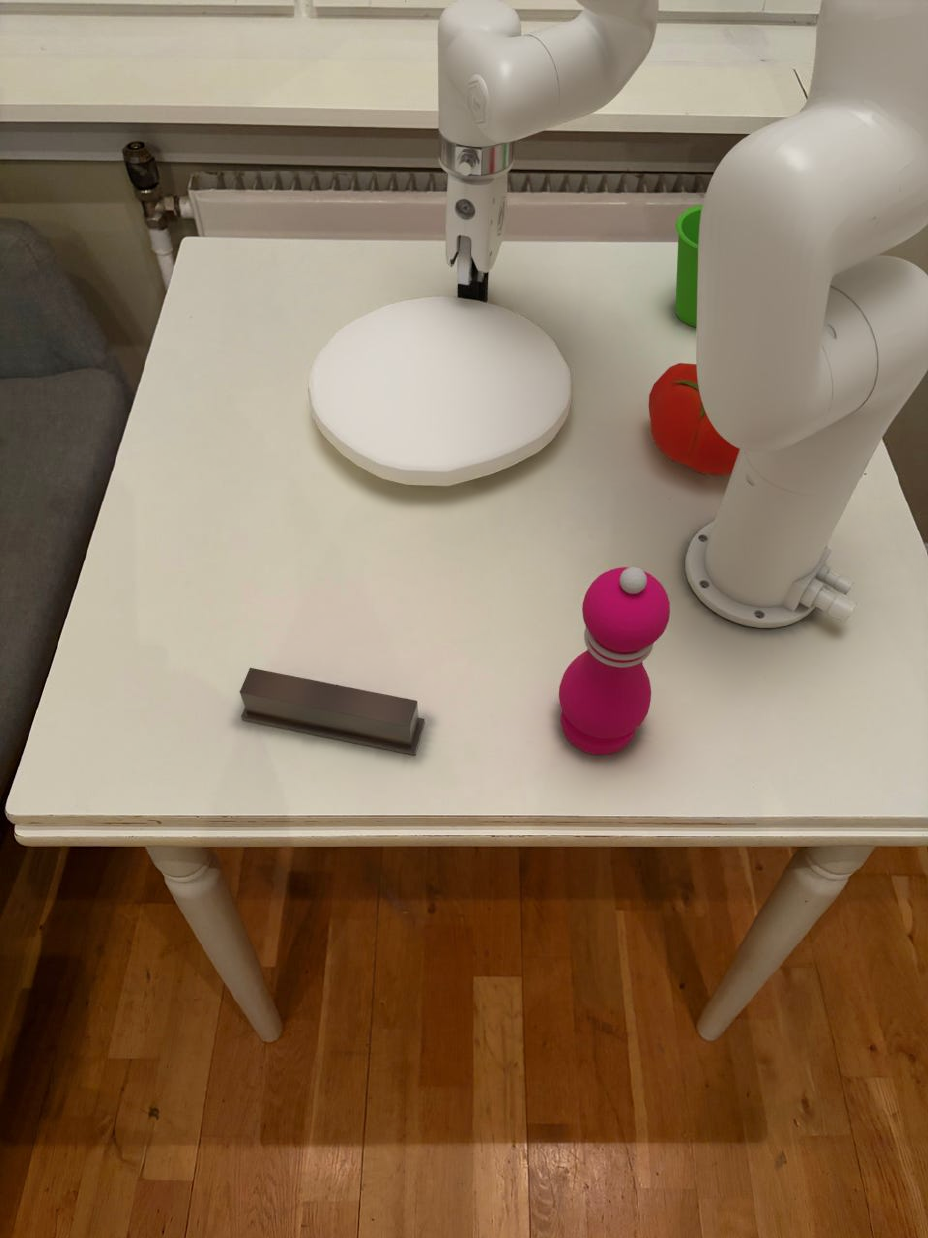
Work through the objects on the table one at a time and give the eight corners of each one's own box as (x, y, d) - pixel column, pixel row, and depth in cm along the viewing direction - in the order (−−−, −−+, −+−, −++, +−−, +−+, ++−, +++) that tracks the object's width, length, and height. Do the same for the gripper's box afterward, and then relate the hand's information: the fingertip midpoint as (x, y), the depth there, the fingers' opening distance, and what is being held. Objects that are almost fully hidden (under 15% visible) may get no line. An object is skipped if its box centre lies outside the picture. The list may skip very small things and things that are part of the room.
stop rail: (424, 722, 78) (423, 697, 75) (415, 756, 76) (413, 732, 73) (255, 688, 80) (246, 662, 77) (241, 720, 78) (232, 695, 75)
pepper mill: (536, 721, 78) (557, 571, 62) (593, 669, 81) (628, 513, 65) (602, 778, 75) (643, 636, 59) (659, 722, 78) (712, 572, 62)
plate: (424, 258, 108) (625, 351, 99) (421, 309, 113) (612, 402, 104) (248, 365, 92) (467, 487, 83) (254, 419, 97) (461, 539, 88)
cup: (645, 297, 112) (662, 211, 103) (715, 284, 113) (737, 197, 105) (678, 344, 107) (698, 257, 98) (750, 330, 108) (777, 243, 100)
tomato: (788, 450, 97) (814, 385, 90) (710, 510, 92) (731, 446, 85) (693, 388, 103) (710, 322, 96) (614, 441, 98) (627, 376, 91)
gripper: (498, 192, 89) (490, 350, 104) (528, 113, 97) (517, 270, 112) (420, 181, 89) (424, 339, 104) (456, 104, 98) (455, 261, 113)
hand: (472, 303), depth 108 cm, fingers closed
